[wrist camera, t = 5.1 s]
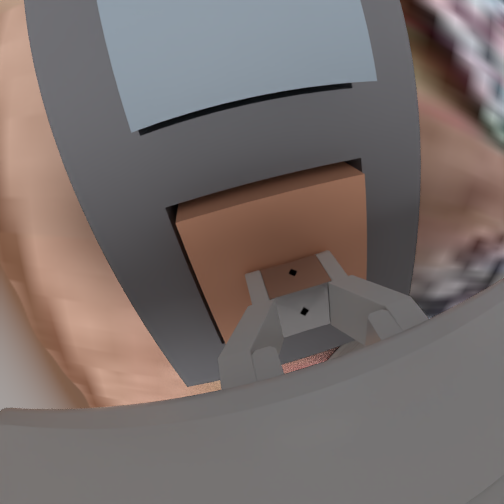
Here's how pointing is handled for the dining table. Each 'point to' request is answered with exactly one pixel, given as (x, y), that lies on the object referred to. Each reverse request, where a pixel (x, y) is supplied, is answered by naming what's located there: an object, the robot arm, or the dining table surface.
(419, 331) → the robot arm
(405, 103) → the key console
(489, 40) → the dining table surface
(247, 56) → the slate key
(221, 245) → the terracotta key
